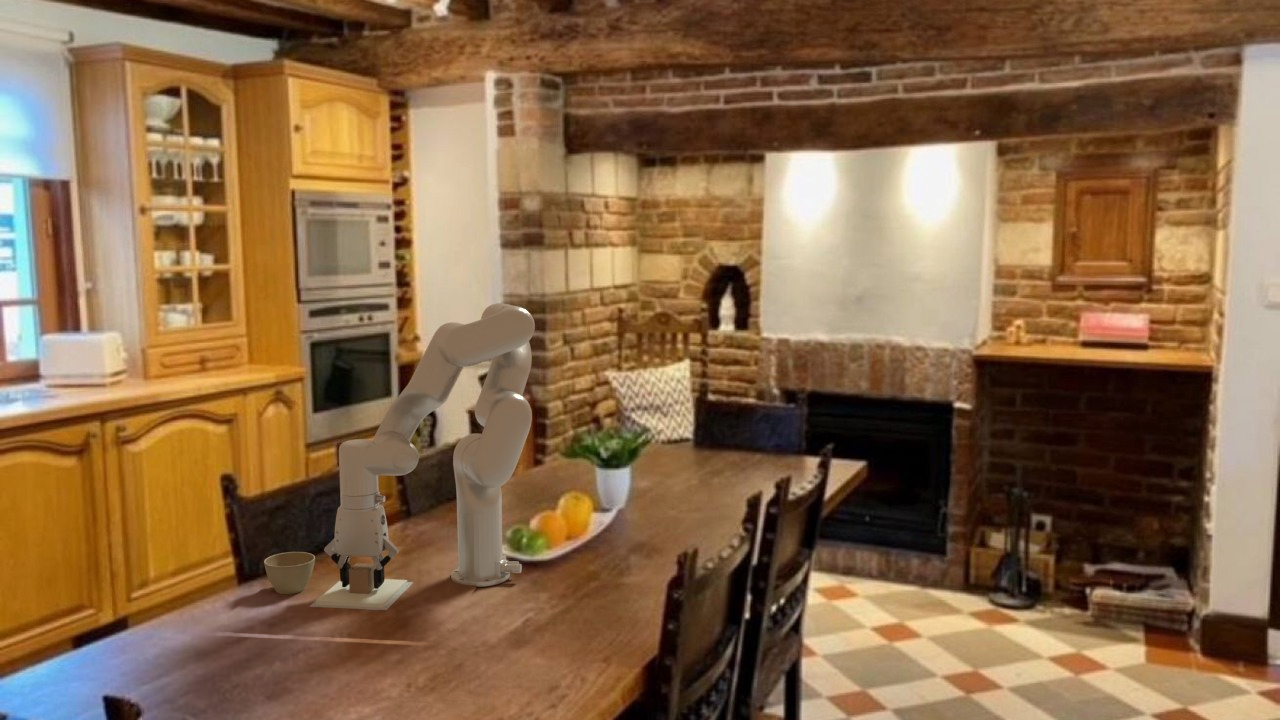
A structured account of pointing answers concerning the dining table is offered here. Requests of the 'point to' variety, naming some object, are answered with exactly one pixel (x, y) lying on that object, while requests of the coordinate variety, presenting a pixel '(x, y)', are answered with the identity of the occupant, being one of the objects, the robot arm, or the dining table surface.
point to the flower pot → (289, 571)
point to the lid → (362, 589)
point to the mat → (368, 607)
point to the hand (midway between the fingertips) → (362, 585)
